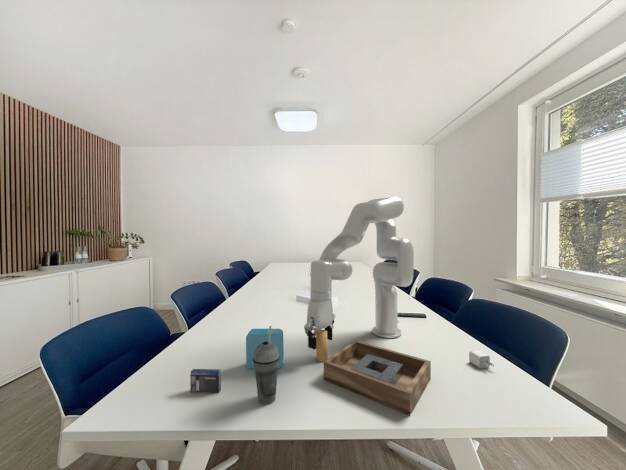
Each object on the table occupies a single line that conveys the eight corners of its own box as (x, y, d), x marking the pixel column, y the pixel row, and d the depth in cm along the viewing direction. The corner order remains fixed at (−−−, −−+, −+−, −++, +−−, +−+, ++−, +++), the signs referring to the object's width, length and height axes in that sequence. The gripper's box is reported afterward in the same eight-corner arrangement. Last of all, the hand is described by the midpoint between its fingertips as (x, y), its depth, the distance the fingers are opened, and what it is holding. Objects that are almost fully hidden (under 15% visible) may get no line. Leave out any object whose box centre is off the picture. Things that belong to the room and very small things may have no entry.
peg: (320, 355, 96) (320, 328, 96) (329, 358, 93) (329, 331, 93) (314, 360, 93) (313, 332, 92) (323, 363, 90) (322, 334, 90)
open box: (355, 355, 96) (355, 340, 96) (430, 378, 80) (430, 361, 80) (323, 379, 80) (323, 362, 80) (410, 415, 64) (409, 393, 64)
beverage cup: (255, 392, 74) (254, 322, 74) (280, 390, 75) (280, 321, 75) (251, 409, 67) (250, 332, 67) (279, 407, 68) (278, 330, 67)
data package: (283, 362, 91) (283, 328, 91) (282, 369, 87) (281, 333, 87) (249, 362, 91) (249, 328, 91) (246, 369, 87) (245, 333, 87)
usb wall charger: (479, 361, 91) (479, 349, 91) (496, 371, 84) (496, 359, 84) (469, 362, 90) (469, 350, 90) (485, 372, 83) (485, 360, 83)
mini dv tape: (190, 392, 74) (190, 371, 74) (193, 389, 76) (192, 369, 76) (218, 393, 74) (218, 372, 74) (220, 390, 76) (220, 369, 76)
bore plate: (368, 362, 88) (367, 353, 88) (403, 374, 81) (403, 364, 81) (350, 378, 79) (350, 368, 79) (388, 393, 72) (388, 382, 72)
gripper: (326, 290, 102) (325, 333, 102) (296, 298, 88) (296, 348, 88) (342, 292, 97) (342, 338, 97) (314, 301, 83) (314, 355, 83)
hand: (320, 343), depth 93 cm, fingers open, 9 cm apart
